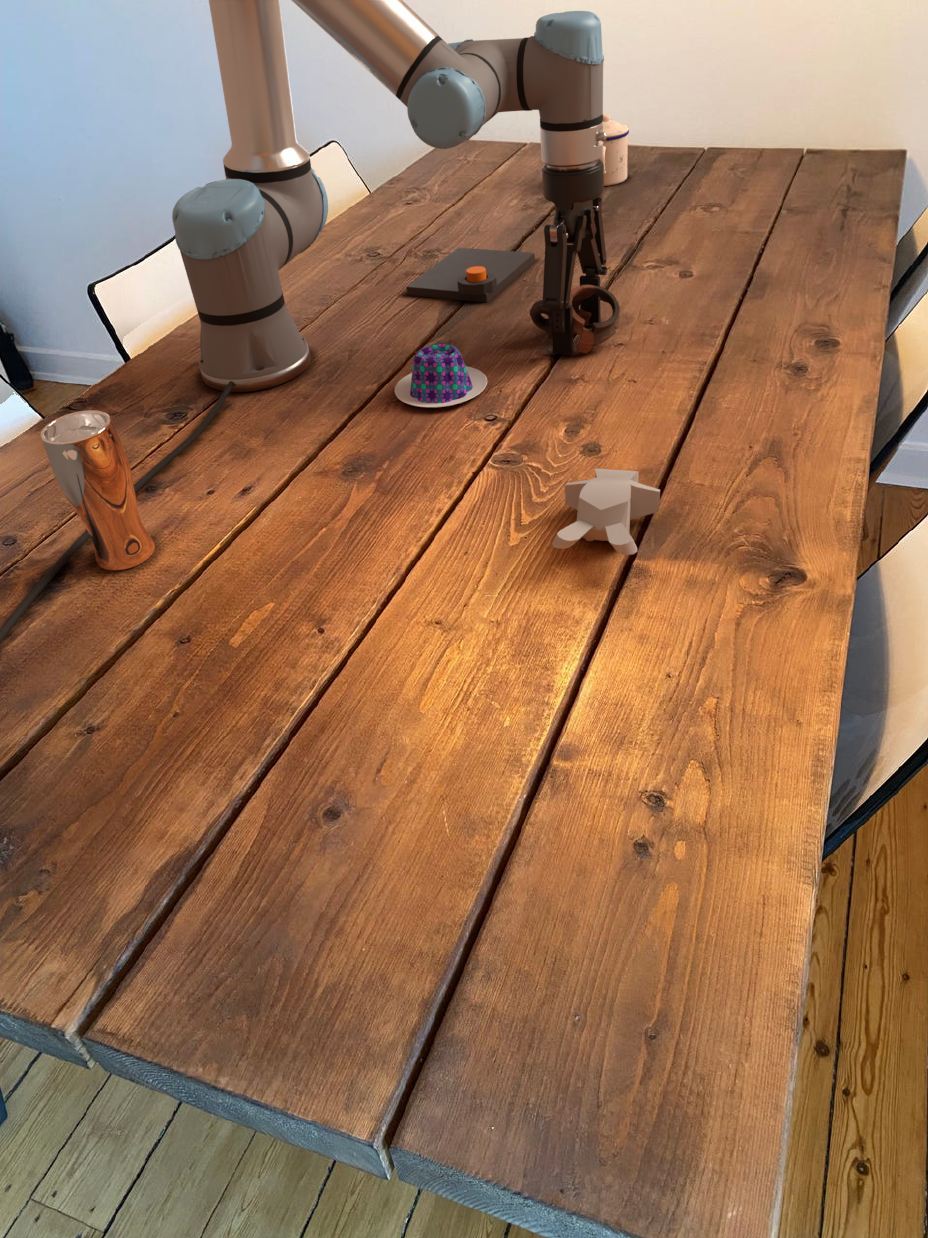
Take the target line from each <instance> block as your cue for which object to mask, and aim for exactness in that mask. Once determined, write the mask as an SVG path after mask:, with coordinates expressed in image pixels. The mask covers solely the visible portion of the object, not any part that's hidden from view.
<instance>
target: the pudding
mask: <svg viewBox="0 0 928 1238" xmlns="http://www.w3.org/2000/svg"><path fill="white" fill-rule="evenodd" d="M411 371H412V372H410V373H408V374H406V375H405V376H404V377H402V378H401V379H400V380H398V382H397V383H396V385H395V387H394V394H395V396H396V399H398V400H399V401H400V402H403V403H405V404H406V405H411V406H414V407H420V408H442V407H450V406H454V405H457V404H462V403H464V402H467V401H469V400H471V399H473V398H475V397H477V396H478V395H480V394H481V393H483V391H484V390H485V389H486V388H487V385H488V378H487V375H486V374H485V373H484V372H483V371H481V370H479V369H477V368H475V367H471V366H468V365H466V364H465V360H464V358H463V355H462V353H461V352H460V350H459V348H458V347H456V346H455V345H452V344H447V343H437V344H429V345H426V346H425V347H424V348H420V349H419V350H417V351H416V352H415V355H414V357H413V362H412V369H411Z"/></svg>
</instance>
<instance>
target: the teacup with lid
mask: <svg viewBox="0 0 928 1238" xmlns="http://www.w3.org/2000/svg"><path fill="white" fill-rule="evenodd" d="M603 132H605V133H606V135H607V138H606V140H605V141H603V156H602V157H601V158H600V159H599V160H601V161H602V163H603V164H604V187H608V186H615V185H618V184H621V183H624V182H625V181H626V180H627V179H628V151H629V150H628V143H629V142H628V141H629V140H628V139H629V137H628V136H629V133H630V130H629V128H628V126H627V125H626V124H623V123H620V122H618V121H616V120H615V119H611V115H610V113H603Z"/></svg>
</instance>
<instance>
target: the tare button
mask: <svg viewBox="0 0 928 1238" xmlns="http://www.w3.org/2000/svg"><path fill="white" fill-rule="evenodd" d="M466 276H467V281H468V282H479V281H483V280H486V279H487V278H486V268H485V267H482V266H475V267H470V268H468V269H467V270H466Z"/></svg>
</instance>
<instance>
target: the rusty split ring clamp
mask: <svg viewBox="0 0 928 1238" xmlns="http://www.w3.org/2000/svg"><path fill="white" fill-rule="evenodd" d="M592 294H595V295H597V296H599V297H600V301H602V302H604V303H607V304H609V306H610V307H611V310H612V315H611V316H610V317H609V318H608V319H606V320H604V321H601V322H600V323H593V324H591V325H592V326H591V327H592V328H591V329H590V328H586V327H588V325H589V324H588V322H589V319H590V317H591V313H590V312H586V311H583V310H581V309H580V304H581V302H582V300H583V299H587V298H589V297H590V296H591V295H592ZM542 302H543V299H539V300H537V301H536V302H534V303H533V304H532V306H531V308H530V309H529V316H530V318H531V321H532V322H533V324H534V325H535V326H536V327H537V328H539V329H540V330H542V331H544V332H545V333H546V334H547V336H548V337H549V338H550V339H552V323H551V308H544V307H543V304H542ZM569 305H572V310H573V333H575V334H576V335H578V336H580V337H579V341H578V344H577V345H576V352H578V353H582V354H585V355H586V354H588V353H589V352H590V351H591V350H592V349H593V347H598V346H599V345H601V344H604V342H606V341H608V340H609V339H611V338H612V337H613V336H614V335H616V333H617V329H618V328H619V326H620V318H621V316H620V312H621V311H620V304H619V301H618V300H617V298H616V297H615V295H614V293H613V292H611V291H609V290H608V289H607V288H604V287H603V286H600V287H599V286H594V285H581V286H580V285H578V286H576V287H574V288H571V293H570V300H569ZM542 314H543V315H546V316H547V318H546V317H544V316H543V315H542Z"/></svg>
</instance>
